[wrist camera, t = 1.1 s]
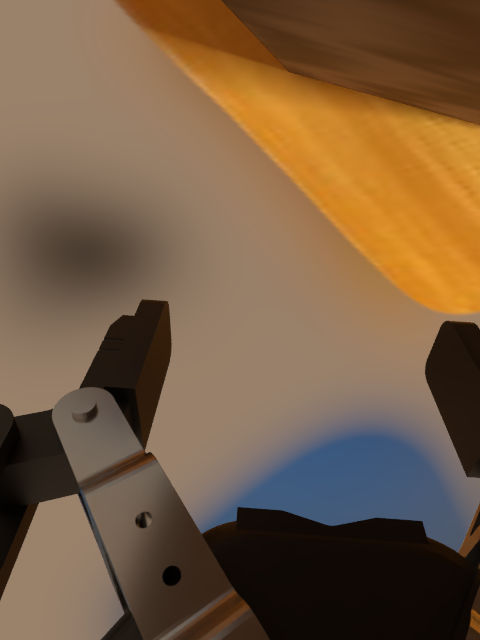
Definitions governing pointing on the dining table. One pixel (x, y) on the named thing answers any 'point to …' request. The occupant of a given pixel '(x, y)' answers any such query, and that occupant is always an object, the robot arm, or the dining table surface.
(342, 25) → the walnut stand
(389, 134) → the dining table surface
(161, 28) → the dining table surface
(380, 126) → the dining table surface
